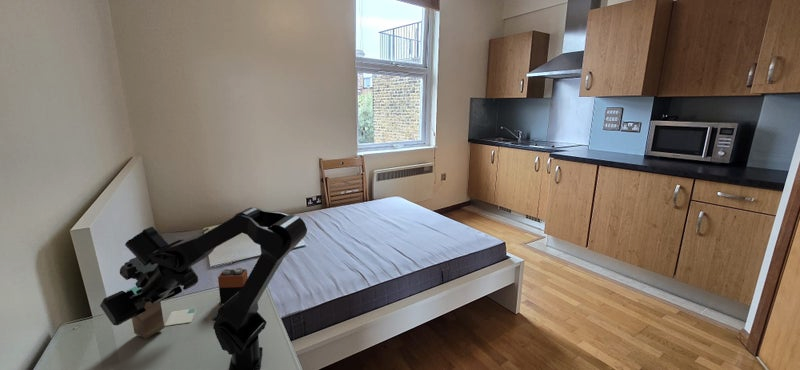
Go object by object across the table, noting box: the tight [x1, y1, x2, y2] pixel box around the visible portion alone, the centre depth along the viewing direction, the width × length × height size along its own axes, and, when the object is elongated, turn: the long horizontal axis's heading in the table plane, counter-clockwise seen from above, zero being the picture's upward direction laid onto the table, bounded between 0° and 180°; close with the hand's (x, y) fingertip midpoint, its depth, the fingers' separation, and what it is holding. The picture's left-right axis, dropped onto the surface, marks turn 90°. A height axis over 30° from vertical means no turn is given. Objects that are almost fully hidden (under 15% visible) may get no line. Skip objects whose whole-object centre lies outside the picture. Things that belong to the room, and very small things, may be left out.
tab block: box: [126, 285, 166, 340], centre depth 80 cm, size 4×4×12 cm
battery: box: [217, 267, 249, 305], centre depth 96 cm, size 4×7×10 cm, turn 98°
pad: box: [164, 308, 198, 327], centre depth 88 cm, size 6×6×1 cm
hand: (142, 305), depth 81 cm, fingers closed on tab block, 4 cm apart
